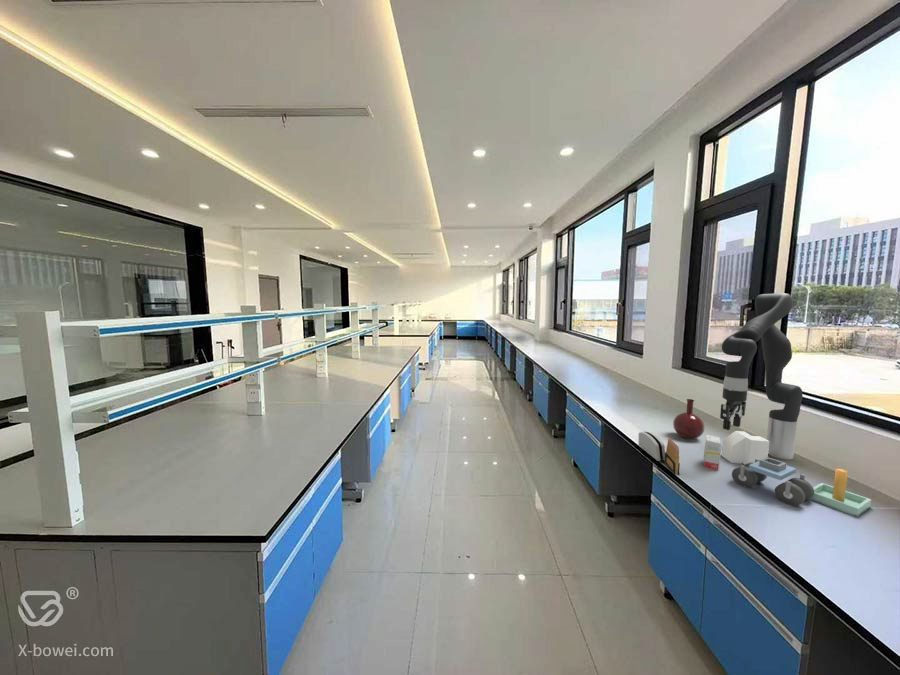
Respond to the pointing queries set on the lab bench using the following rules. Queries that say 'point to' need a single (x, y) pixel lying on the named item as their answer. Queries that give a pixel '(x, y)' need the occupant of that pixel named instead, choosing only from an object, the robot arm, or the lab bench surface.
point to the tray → (851, 503)
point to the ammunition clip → (672, 457)
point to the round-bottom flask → (688, 423)
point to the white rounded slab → (652, 445)
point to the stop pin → (840, 485)
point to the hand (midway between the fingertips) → (731, 427)
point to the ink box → (712, 452)
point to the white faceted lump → (744, 448)
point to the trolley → (786, 492)
